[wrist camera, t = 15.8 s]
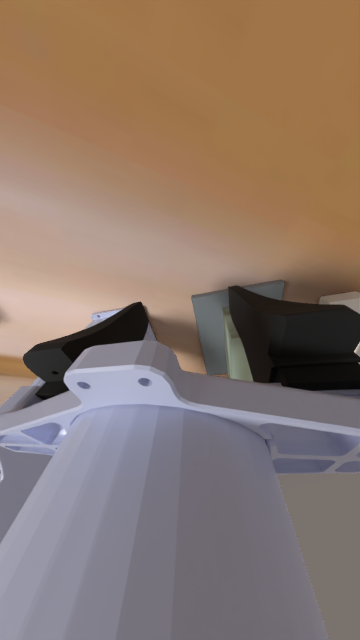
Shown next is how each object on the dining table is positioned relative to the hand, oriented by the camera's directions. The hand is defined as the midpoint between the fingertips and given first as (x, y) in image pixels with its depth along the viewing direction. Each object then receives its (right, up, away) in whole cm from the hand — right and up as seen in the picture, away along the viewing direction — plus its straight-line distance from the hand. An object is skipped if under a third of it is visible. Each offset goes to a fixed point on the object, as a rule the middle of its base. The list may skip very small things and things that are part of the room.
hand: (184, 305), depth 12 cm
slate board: (+9, -4, +13) cm, 17 cm away
